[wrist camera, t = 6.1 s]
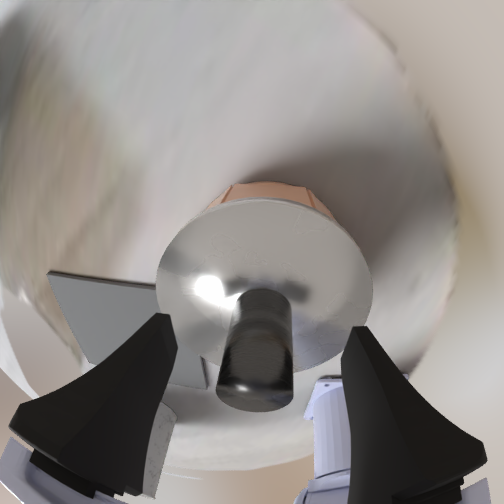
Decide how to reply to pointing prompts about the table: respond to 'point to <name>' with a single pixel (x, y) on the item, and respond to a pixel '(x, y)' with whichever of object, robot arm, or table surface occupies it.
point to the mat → (116, 321)
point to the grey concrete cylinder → (157, 448)
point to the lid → (263, 294)
